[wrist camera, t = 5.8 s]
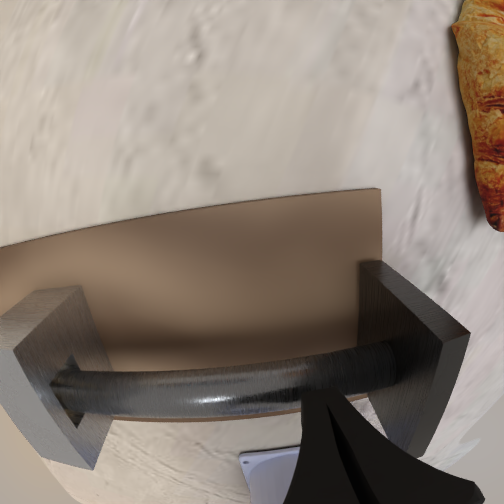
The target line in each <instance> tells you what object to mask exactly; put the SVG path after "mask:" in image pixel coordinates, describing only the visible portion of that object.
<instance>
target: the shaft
mask: <svg viewBox="0 0 504 504" xmlns="http://www.w3.org/2000/svg"><path fill="white" fill-rule="evenodd" d="M470 334H471V333H470V332H469V331H468V330H467V329H466V328H465V327H464V326H462V325H461V324H460V323H459V322H458V321H457V320H455V319H454V318H453V317H452V316H451V315H450V314H448V313H447V312H446V311H445V310H444V309H442V308H441V307H440V306H439V305H438V304H436V303H435V302H434V301H433V300H432V299H430V298H429V297H428V296H427V295H425V294H424V293H423V292H422V291H420V290H419V289H418V288H417V287H415V286H414V285H413V284H412V283H410V282H409V281H408V280H406V279H405V278H404V277H403V276H401V275H400V274H399V273H397V272H396V271H395V270H394V269H392V268H391V267H390V266H388V265H387V264H386V263H384V262H383V261H382V260H376V261H369V262H363V263H360V280H359V317H358V336H357V346H356V347H352V348H347V349H342V350H337V351H332V352H327V353H322V354H316V355H310V356H304V357H298V358H292V359H285V360H279V361H271V362H264V363H256V364H248V365H238V366H228V367H218V368H205V369H190V370H171V371H87V370H68V369H60V370H59V371H58V373H57V374H56V375H55V377H54V378H53V380H52V381H51V382H50V384H49V386H50V388H51V390H52V391H53V393H54V395H55V397H56V398H57V400H58V401H59V403H60V405H61V406H62V408H63V409H64V410H67V411H74V412H82V413H89V414H98V415H109V416H121V417H138V418H208V417H225V416H238V415H249V414H258V413H267V412H274V411H282V410H288V409H295V408H301V394H302V393H303V392H307V391H313V390H318V389H324V388H329V387H334V386H336V387H338V388H339V390H340V391H341V392H342V394H343V395H344V396H345V397H346V398H350V397H354V396H358V395H362V394H367V396H368V398H369V400H370V402H371V404H372V406H373V408H374V410H375V412H376V414H377V416H378V418H379V421H380V423H381V425H382V427H383V429H384V431H385V433H386V435H387V437H388V439H389V440H390V441H391V442H392V443H394V444H395V445H396V446H398V447H399V448H401V449H402V450H404V451H405V452H407V453H408V454H410V455H412V456H413V457H415V458H419V457H421V456H423V455H424V453H425V451H426V449H427V447H428V445H429V443H430V441H431V439H432V437H433V435H434V433H435V431H436V429H437V427H438V425H439V422H440V420H441V418H442V416H443V413H444V411H445V408H446V406H447V404H448V401H449V399H450V396H451V393H452V391H453V388H454V385H455V383H456V380H457V377H458V374H459V371H460V368H461V365H462V362H463V359H464V355H465V352H466V349H467V345H468V342H469V338H470Z"/></svg>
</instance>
